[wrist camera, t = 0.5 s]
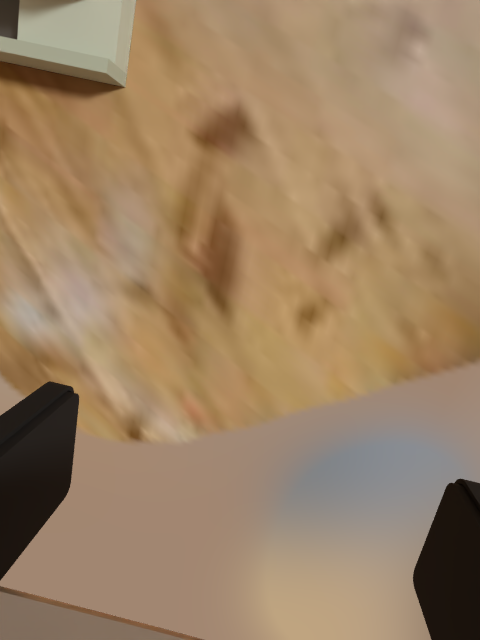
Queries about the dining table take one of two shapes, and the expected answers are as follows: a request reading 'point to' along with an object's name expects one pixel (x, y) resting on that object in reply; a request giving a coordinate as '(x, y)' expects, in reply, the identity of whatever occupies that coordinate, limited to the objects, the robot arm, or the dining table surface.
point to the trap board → (69, 37)
